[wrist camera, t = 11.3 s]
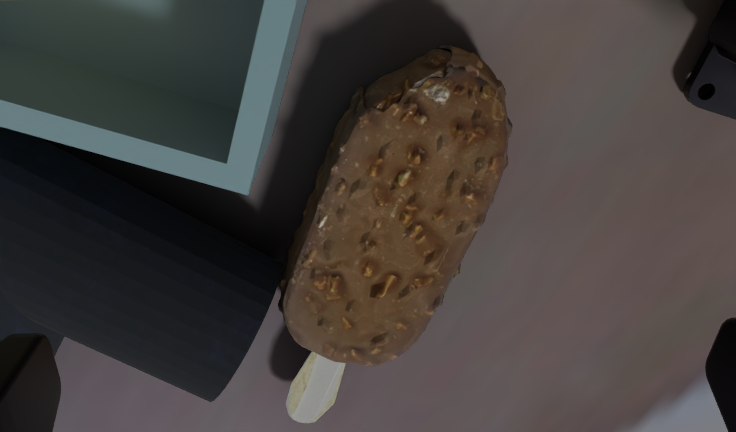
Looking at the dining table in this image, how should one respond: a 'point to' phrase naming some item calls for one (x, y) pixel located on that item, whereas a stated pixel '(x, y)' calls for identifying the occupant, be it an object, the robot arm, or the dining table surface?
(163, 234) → the pipe connector
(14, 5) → the bin
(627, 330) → the dining table surface
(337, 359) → the ice cream bar
